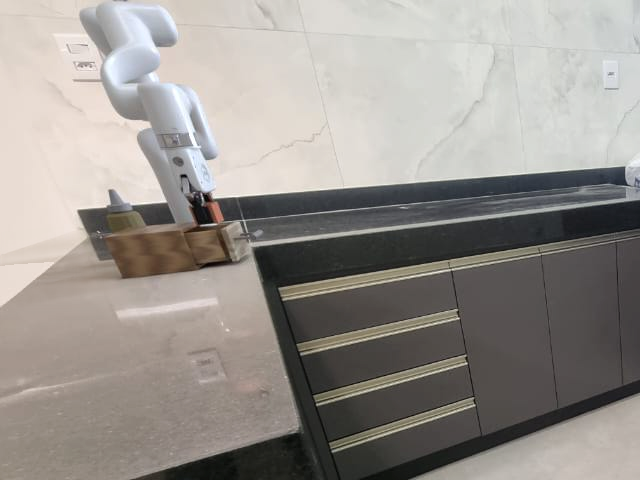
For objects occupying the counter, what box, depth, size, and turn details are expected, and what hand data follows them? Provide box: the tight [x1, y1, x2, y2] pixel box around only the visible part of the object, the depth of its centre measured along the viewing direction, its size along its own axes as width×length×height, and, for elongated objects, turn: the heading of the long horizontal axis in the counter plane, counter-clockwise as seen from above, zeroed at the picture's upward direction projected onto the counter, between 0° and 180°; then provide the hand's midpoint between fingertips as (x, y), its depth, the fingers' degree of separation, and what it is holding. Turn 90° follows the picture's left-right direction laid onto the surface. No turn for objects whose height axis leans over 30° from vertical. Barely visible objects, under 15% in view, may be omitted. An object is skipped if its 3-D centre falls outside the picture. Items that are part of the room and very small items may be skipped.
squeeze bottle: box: [105, 188, 147, 234], centre depth 136 cm, size 8×8×18 cm
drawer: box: [183, 221, 264, 264], centre depth 132 cm, size 18×11×8 cm, turn 111°
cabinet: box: [102, 222, 207, 279], centre depth 129 cm, size 15×13×10 cm
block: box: [189, 201, 225, 225], centre depth 129 cm, size 5×5×5 cm
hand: (209, 221), depth 130 cm, fingers closed on block, 4 cm apart
